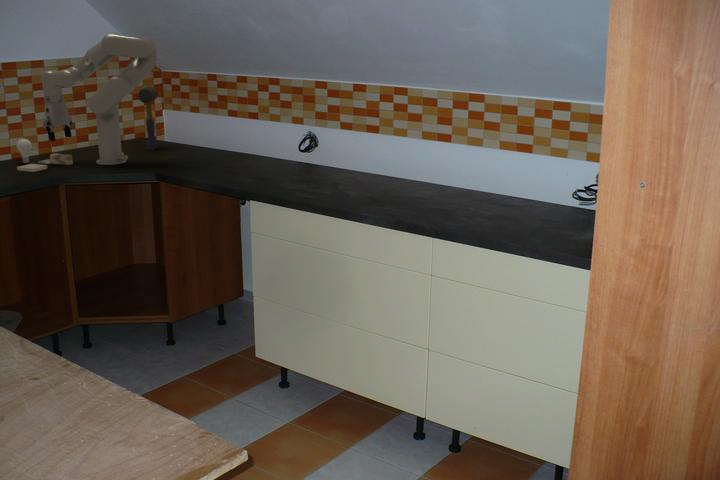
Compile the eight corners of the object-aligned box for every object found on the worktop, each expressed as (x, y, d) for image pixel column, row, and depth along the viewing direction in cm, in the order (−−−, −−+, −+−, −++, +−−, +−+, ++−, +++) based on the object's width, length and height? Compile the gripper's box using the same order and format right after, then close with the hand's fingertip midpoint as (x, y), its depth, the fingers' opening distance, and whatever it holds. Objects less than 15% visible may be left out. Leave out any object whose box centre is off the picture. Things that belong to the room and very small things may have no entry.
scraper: (75, 163, 360) (74, 154, 359) (65, 165, 355) (64, 156, 354) (47, 160, 367) (46, 152, 366) (37, 163, 361) (36, 154, 360)
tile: (47, 165, 349) (31, 163, 352) (32, 168, 342) (16, 166, 345) (47, 169, 349) (32, 167, 353) (33, 173, 342) (17, 171, 346)
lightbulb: (27, 161, 364) (24, 137, 361) (37, 162, 361) (34, 138, 358) (15, 163, 359) (12, 139, 356) (24, 165, 356) (21, 140, 353)
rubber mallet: (147, 147, 399) (142, 85, 391) (162, 147, 399) (158, 85, 391) (141, 151, 387) (136, 88, 379) (157, 151, 387) (152, 87, 379)
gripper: (45, 102, 343) (52, 142, 348) (74, 97, 358) (81, 135, 363) (32, 102, 346) (39, 142, 351) (61, 97, 361) (68, 135, 366)
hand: (60, 138), depth 357 cm, fingers open, 9 cm apart
